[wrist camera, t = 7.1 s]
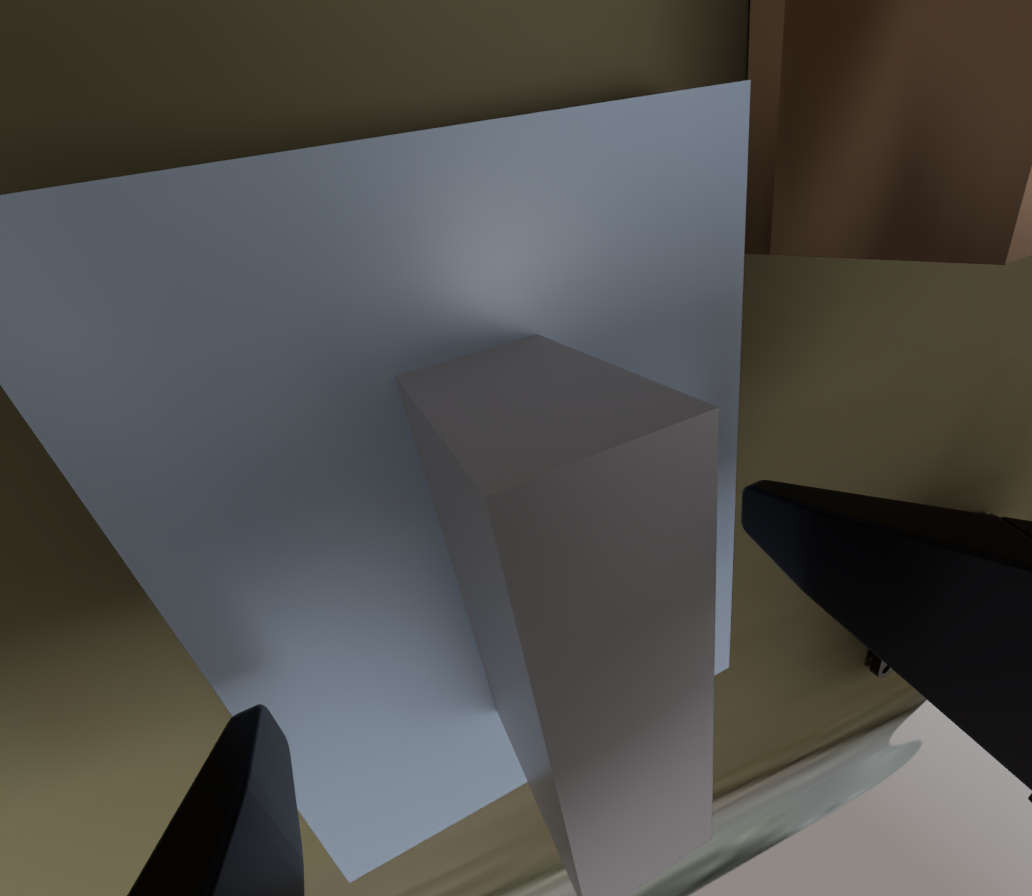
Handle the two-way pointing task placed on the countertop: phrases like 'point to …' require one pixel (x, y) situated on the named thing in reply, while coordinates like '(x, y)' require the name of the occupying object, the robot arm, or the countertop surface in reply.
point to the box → (890, 130)
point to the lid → (423, 453)
